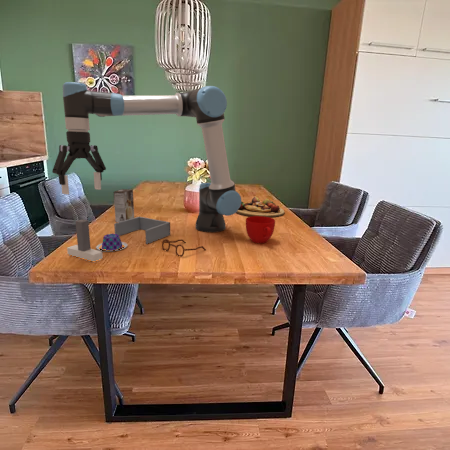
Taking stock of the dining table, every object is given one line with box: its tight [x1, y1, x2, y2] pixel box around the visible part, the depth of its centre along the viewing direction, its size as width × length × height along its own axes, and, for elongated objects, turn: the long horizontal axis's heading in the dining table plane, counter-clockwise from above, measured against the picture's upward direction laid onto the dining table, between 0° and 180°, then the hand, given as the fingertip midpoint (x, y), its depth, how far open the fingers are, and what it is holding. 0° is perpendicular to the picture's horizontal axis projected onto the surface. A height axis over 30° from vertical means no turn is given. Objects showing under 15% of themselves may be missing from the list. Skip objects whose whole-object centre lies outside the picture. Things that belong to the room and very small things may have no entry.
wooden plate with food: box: [235, 196, 285, 219], centre depth 199 cm, size 32×32×8 cm
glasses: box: [161, 238, 207, 258], centre depth 129 cm, size 13×13×5 cm
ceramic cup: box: [245, 216, 276, 244], centre depth 141 cm, size 13×17×10 cm
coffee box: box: [113, 188, 135, 223], centre depth 168 cm, size 9×6×16 cm
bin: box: [113, 216, 171, 245], centre depth 145 cm, size 19×16×6 cm
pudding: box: [95, 233, 128, 252], centre depth 129 cm, size 12×12×5 cm
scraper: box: [66, 219, 104, 261], centre depth 117 cm, size 14×4×14 cm, turn 62°
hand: (82, 191), depth 117 cm, fingers open, 13 cm apart
